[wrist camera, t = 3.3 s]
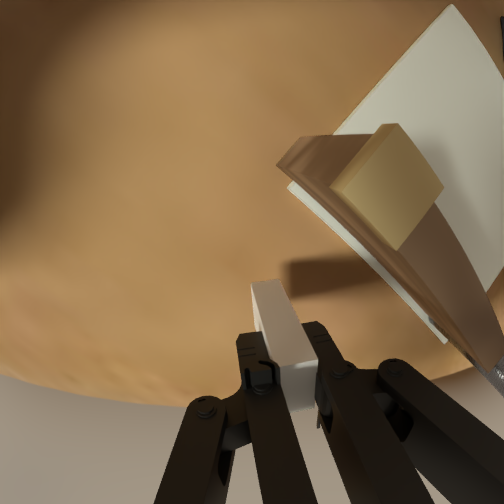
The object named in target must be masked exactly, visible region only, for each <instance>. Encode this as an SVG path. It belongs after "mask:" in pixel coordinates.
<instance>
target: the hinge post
mask: <svg viewBox="0 0 504 504" xmlns="http://www.w3.org/2000/svg"><path fill="white" fill-rule="evenodd" d="M428 320H429V322H430V323H431V324H432V325H433V326H434V327H435V328H436V329H437V330H438V331H439V332H440V333H441V334H442V335H443V336H444V337H445V338H447V339H448V340H449V341H450V342H451V343H452V344H453V345H454V346H455V347H456V348H457V349H458V350H459V351H460V352H461V353H462V354H463V355H464V356H465V357H466V358H467V359H468V360H469V361H470V362H471V363H472V364H473V365H474V366H475V367H476V368H477V369H478V371H479V372H480V373H481V374H482V375H483V376H484V377H485V378H486V379H487V380H488V381H489V382H490V383H491V384H492V385H493V386H494V387H495V389H497V391H498V392H499V393H500V394H501V395H502V396H503V397H504V355H503V356H502V358H501V359H500V360H499V361H498V363H497V364H496V365H495V366H494V368H493V369H492V370H491V371H490V372H489V373H487V372H486V371H485V370H484V369H483V368H482V367H481V366H480V365H479V364H478V363H477V362H476V361H475V360H474V359H473V358H472V357H471V356H470V355H469V354H468V353H467V352H466V351H465V350H464V349H463V348H462V347H461V346H460V345H459V344H458V343H457V342H456V341H455V340H454V339H453V338H452V337H451V336H450V335H449V334H448V333H446V332H445V331H444V330H443V329H442V328H441V327H440V326H439V325H438V324H437V323H436V322H435V321H434V320H432V319H431V318H430V317H429V316H428Z"/></svg>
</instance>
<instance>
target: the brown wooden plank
mask: <svg viewBox="0 0 504 504" xmlns="http://www.w3.org/2000/svg"><path fill="white" fill-rule="evenodd" d="M276 166H277V167H278V168H280V169H281V170H282V171H283V172H284V173H285V174H286V175H288V176H289V177H290V178H291V179H292V180H293V181H294V182H296V183H297V184H298V185H299V186H300V187H301V188H302V189H303V190H304V191H306V192H307V193H308V194H309V195H310V196H311V197H312V198H313V199H314V200H315V201H317V202H318V203H319V204H320V205H321V206H322V207H323V208H324V209H325V210H326V211H327V212H328V213H329V214H330V215H332V216H333V217H334V218H335V219H336V220H337V221H338V222H339V223H340V224H341V225H342V226H343V227H344V228H345V229H346V230H347V231H348V232H349V233H350V234H351V235H352V236H353V237H354V238H355V239H356V240H357V241H358V242H359V243H360V244H361V245H362V246H363V247H364V248H365V249H366V250H367V251H368V252H369V253H370V254H371V255H372V256H373V257H374V258H375V259H376V260H377V261H378V262H379V263H380V264H381V265H382V266H383V267H384V268H385V269H386V270H387V271H388V273H389V274H390V275H391V276H392V277H393V278H394V279H395V280H396V281H397V282H398V283H399V284H400V285H401V286H402V288H403V289H404V290H405V291H406V292H407V293H408V294H409V295H410V296H411V297H412V299H413V300H414V301H415V302H416V303H417V304H418V305H419V306H420V308H421V309H422V310H423V311H424V312H425V313H426V314H427V315H428V316H429V317H430V318H431V319H432V320H434V321H435V322H436V323H437V324H438V325H439V326H440V327H441V328H442V329H443V330H444V331H445V332H446V333H448V334H449V335H450V336H451V337H452V338H453V339H454V340H455V341H456V342H457V343H458V344H459V345H460V346H461V347H462V348H463V349H464V350H465V351H466V352H467V353H468V354H469V355H470V356H471V357H472V358H473V359H474V360H475V361H476V362H477V363H478V364H479V365H480V366H481V367H482V368H483V369H484V370H485V371H486V372H487V373H489V372H490V371H491V370H492V369H493V368H494V366H495V365H496V364H497V363H498V361H499V360H500V359H501V358H502V356H503V355H504V335H503V333H502V330H501V327H500V325H499V322H498V320H497V317H496V315H495V313H494V310H493V308H492V306H491V303H490V301H489V299H488V297H487V295H486V292H485V290H484V288H483V286H482V284H481V282H480V280H479V278H478V276H477V274H476V272H475V270H474V268H473V266H472V264H471V262H470V260H469V259H468V257H467V255H466V253H465V251H464V249H463V248H462V246H461V244H460V242H459V241H458V239H457V237H456V236H455V234H454V232H453V231H452V229H451V227H450V226H449V224H448V222H447V221H446V219H445V218H444V216H443V214H442V213H441V211H440V210H439V208H438V207H437V205H436V204H435V200H436V199H437V197H438V196H439V195H440V193H441V192H442V190H443V189H444V186H443V184H442V183H441V181H440V180H439V178H438V177H437V175H436V174H435V172H434V171H433V169H432V168H431V166H430V165H429V164H428V162H427V161H426V159H425V158H424V156H423V155H422V154H421V152H420V151H419V150H418V148H417V147H416V145H415V144H414V143H413V141H412V140H411V139H410V138H409V136H408V135H407V134H406V132H405V131H404V130H403V129H402V127H401V126H400V125H399V124H398V123H389V124H381V126H380V127H379V128H378V129H377V130H376V132H375V133H374V134H346V135H324V136H308V137H300V138H299V139H298V140H297V141H296V143H295V144H294V145H293V146H292V147H291V148H290V149H289V151H288V152H287V153H286V154H285V155H284V156H283V158H282V159H281V160H280V161H279V162H278V163H277V165H276Z"/></svg>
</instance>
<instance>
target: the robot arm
mask: <svg viewBox="0 0 504 504" xmlns="http://www.w3.org/2000/svg"><path fill="white" fill-rule="evenodd" d="M251 292H252V302H253V312H254V323H255V329H256V332H251V333H243V334H239V336H238V338H237V340H236V346H237V353H238V360H239V366H240V373H241V380H242V384H241V387H240V389H239V390H238V391H237V392H236V393H235V394H234V395H232V396H230V397H228V398H225V399H222V400H220V399H219V398H217V397H214V396H202V397H199V398H196V399H195V400H193V401H192V402H191V403H190V404H189V406H188V407H187V410H186V412H185V415H184V418H183V421H182V424H181V427H180V429H179V432H178V435H177V438H176V441H175V444H174V447H173V449H172V452H171V455H170V458H169V461H168V464H167V466H166V469H165V472H164V475H163V478H162V481H161V484H160V487H159V489H158V492H157V495H156V498H155V501H154V504H225V503H226V498H227V492H228V487H229V482H230V476H231V471H232V466H233V461H234V456H235V449H237V448H240V447H242V446H244V445H247V444H249V443H251V442H252V446H253V452H254V457H255V463H256V468H257V474H258V479H259V485H260V489H261V495H262V500H263V504H318V503H317V500H316V496H315V493H314V490H313V487H312V484H311V480H310V477H309V474H308V471H307V468H306V464H305V461H304V458H303V455H302V452H301V449H300V445H299V442H298V439H297V436H296V433H295V429H294V426H293V423H292V419H291V416H290V413H293V412H298V411H303V410H307V409H312V408H314V407H315V401H316V403H317V406H318V417H317V428H320V424H321V426H322V429H323V431H324V434H325V436H326V439H327V442H328V444H329V447H330V450H331V452H332V455H333V457H334V460H335V463H336V465H337V468H338V470H339V473H340V476H341V478H342V481H343V484H344V486H345V489H346V491H347V494H348V497H349V499H350V502H351V504H435V503H434V501H433V500H432V498H431V496H430V494H429V492H428V490H427V489H426V487H425V485H424V483H423V481H422V479H421V478H420V476H419V474H418V473H417V470H418V471H419V472H420V473H421V474H422V475H423V476H424V477H425V478H426V479H427V480H428V481H429V482H430V483H431V484H432V485H433V486H434V487H435V488H436V489H437V490H438V491H439V492H440V493H441V494H442V495H443V496H444V497H445V498H446V499H447V500H448V501H449V502H450V503H451V504H504V440H503V439H502V438H501V437H499V436H498V435H497V434H496V433H494V432H493V431H492V430H491V429H489V428H488V427H487V426H486V425H485V424H483V423H482V422H481V421H479V420H478V419H477V418H476V417H475V416H473V415H472V414H471V413H470V412H468V411H467V410H466V409H465V408H463V407H462V406H461V405H459V404H458V403H457V402H456V401H454V400H453V399H452V398H451V397H449V396H448V395H447V394H446V393H445V392H443V391H442V390H441V389H439V388H438V387H437V386H436V385H434V384H433V383H432V382H431V381H429V380H428V379H427V378H426V377H424V376H423V375H422V374H421V373H419V372H418V371H417V370H416V369H414V368H413V367H412V366H410V365H409V364H408V363H407V362H405V361H403V360H400V359H396V358H395V359H387V360H384V361H383V362H382V363H380V365H379V367H378V369H358V368H356V366H355V365H354V364H353V363H351V362H349V361H345V360H344V358H343V357H342V355H341V353H340V351H339V350H338V348H337V346H336V345H335V343H334V341H333V340H332V338H331V336H330V335H329V333H328V331H327V330H326V328H325V326H323V325H322V324H320V323H319V322H317V321H314V322H308V323H303V324H301V323H300V321H299V319H298V317H297V315H296V313H295V311H294V309H293V307H292V304H291V302H290V300H289V298H288V296H287V294H286V292H285V290H284V288H283V286H282V284H281V282H280V280H279V279H275V280H268V281H260V282H253V283H251ZM415 468H416V469H417V470H416V469H415Z"/></svg>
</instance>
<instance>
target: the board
mask: <svg viewBox="0 0 504 504" xmlns="http://www.w3.org/2000/svg"><path fill="white" fill-rule="evenodd" d="M389 123H398V124H399V125H400V126H401V127H402V129H403V130H404V131H405V132H406V134H407V135H408V136H409V138H410V139H411V140H412V141H413V143H414V144H415V145H416V147H417V148H418V150H419V151H420V152H421V154H422V155H423V156H424V158H425V159H426V161H427V162H428V164H429V165H430V166H431V168H432V169H433V171H434V172H435V174H436V175H437V177H438V178H439V180H440V181H441V183H442V184H443V186H444V189H443V190H442V192H441V193H440V195H439V196H438V197H437V199H436V200H435V204H436V205H437V207H438V208H439V210H440V211H441V213H442V214H443V216H444V218H445V219H446V221H447V222H448V224H449V226H450V227H451V229H452V231H453V232H454V234H455V236H456V237H457V239H458V241H459V242H460V244H461V246H462V248H463V249H464V251H465V253H466V255H467V257H468V259H469V260H470V262H471V264H472V266H473V268H474V270H475V272H476V274H477V276H478V278H479V280H480V282H481V284H482V286H483V288H484V290H485V292H487V290H488V289H489V288H490V286H491V285H492V283H493V282H494V280H495V279H496V277H497V276H498V274H499V273H500V271H501V270H502V268H503V266H504V79H503V77H502V76H501V74H500V72H499V70H498V69H497V67H496V65H495V63H494V62H493V60H492V58H491V57H490V55H489V54H488V52H487V50H486V49H485V47H484V46H483V44H482V43H481V41H480V40H479V38H478V37H477V35H476V34H475V32H474V31H473V30H472V28H471V27H470V26H469V24H468V23H467V21H466V20H465V19H464V17H463V16H462V15H461V14H460V12H459V11H458V10H457V9H456V7H455V6H454V5H453V4H451V5H448V6H447V7H446V8H445V9H444V10H443V11H442V13H441V14H440V15H439V16H438V17H437V18H436V19H435V20H434V21H433V22H432V23H431V24H430V26H429V27H428V28H427V29H426V30H425V31H424V32H423V33H422V34H421V35H420V37H419V38H418V39H417V40H416V41H415V42H414V43H413V44H412V45H411V46H410V48H409V49H408V50H407V51H406V52H405V53H404V54H403V55H402V56H401V58H400V59H399V60H398V61H397V62H396V63H395V64H394V65H393V66H392V68H391V69H390V70H389V71H388V72H387V73H386V74H385V75H384V77H383V78H382V79H381V80H380V81H379V82H378V83H377V84H376V86H375V87H374V88H373V89H372V90H371V91H370V92H369V93H368V95H367V96H366V97H365V98H364V99H363V100H362V101H361V103H360V104H359V105H358V106H357V107H356V108H355V109H354V110H353V112H352V113H351V114H350V115H349V116H348V117H347V118H346V120H345V121H344V122H343V123H342V124H341V125H340V126H339V128H338V129H337V130H336V131H335V132H334V133H333V135H346V134H374V133H375V132H376V130H377V129H378V128H379V127H380V126H381V124H389ZM287 189H288V190H289V191H290V192H291V193H292V194H294V195H295V196H296V197H297V198H298V199H299V200H300V201H302V202H303V203H304V204H305V205H306V206H307V207H308V208H309V209H310V210H312V211H313V212H314V213H315V214H316V215H317V216H318V217H319V218H320V219H321V220H323V221H324V222H325V223H326V224H327V225H328V226H329V227H330V228H331V229H332V230H333V231H334V232H336V233H337V234H338V235H339V236H340V237H341V238H342V239H343V240H344V241H345V242H346V243H347V244H348V245H349V246H350V247H351V248H352V249H353V250H354V251H356V252H357V253H358V254H359V255H360V256H361V257H362V258H363V259H364V260H365V261H366V262H367V263H368V264H369V265H370V266H371V267H372V268H373V269H374V270H375V271H376V272H377V273H378V274H379V275H380V276H381V277H382V278H383V279H384V280H385V281H386V282H387V283H388V284H389V285H390V286H391V287H392V288H393V289H394V291H395V292H396V293H397V294H398V295H399V296H400V297H401V298H402V299H403V300H404V301H405V302H406V303H407V304H408V305H409V306H410V307H411V308H412V309H413V311H414V312H415V313H416V314H417V315H418V316H419V317H420V318H421V319H422V320H423V321H424V323H425V324H426V325H427V326H428V327H429V328H430V329H431V330H432V331H433V333H434V334H435V335H436V336H437V337H438V338H439V339H440V340H441V342H442V343H443V344H444V345H445V343H446V342H447V341H448V339H447V338H445V337H444V336H443V335H442V334H441V333H440V332H439V331H438V330H437V329H436V328H435V327H434V326H433V325H432V324H431V323H430V322H429V320H428V315H427V314H426V313H425V312H424V311H423V310H422V309H421V308H420V306H419V305H418V304H417V303H416V302H415V301H414V300H413V299H412V297H411V296H410V295H409V294H408V293H407V292H406V291H405V290H404V289H403V288H402V286H401V285H400V284H399V283H398V282H397V281H396V280H395V279H394V278H393V277H392V276H391V275H390V274H389V273H388V271H387V270H386V269H385V268H384V267H383V266H382V265H381V264H380V263H379V262H378V261H377V260H376V259H375V258H374V257H373V256H372V255H371V254H370V253H369V252H368V251H367V250H366V249H365V248H364V247H363V246H362V245H361V244H360V243H359V242H358V241H357V240H356V239H355V238H354V237H353V236H352V235H351V234H350V233H349V232H348V231H347V230H346V229H345V228H344V227H343V226H342V225H341V224H340V223H339V222H338V221H337V220H336V219H335V218H334V217H333V216H332V215H330V214H329V213H328V212H327V211H326V210H325V209H324V208H323V207H322V206H321V205H320V204H319V203H318V202H317V201H315V200H314V199H313V198H312V197H311V196H310V195H309V194H308V193H307V192H306V191H304V190H303V189H302V188H301V187H300V186H299V185H298V184H297V183H296V182H294V181H292V182H291V183H290V184H289V186H288V187H287Z"/></svg>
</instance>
